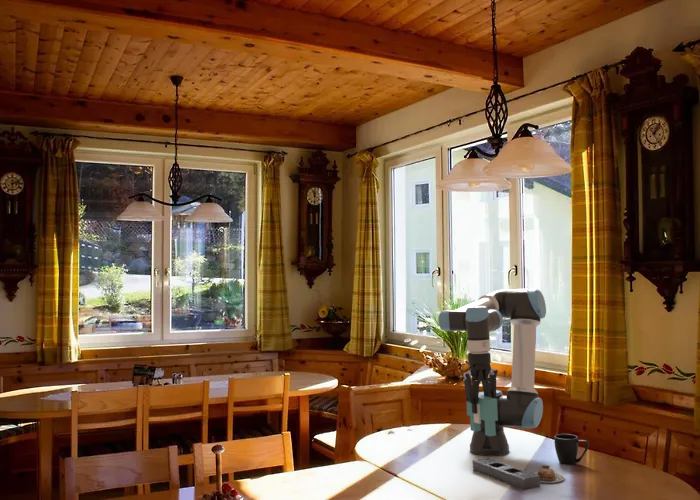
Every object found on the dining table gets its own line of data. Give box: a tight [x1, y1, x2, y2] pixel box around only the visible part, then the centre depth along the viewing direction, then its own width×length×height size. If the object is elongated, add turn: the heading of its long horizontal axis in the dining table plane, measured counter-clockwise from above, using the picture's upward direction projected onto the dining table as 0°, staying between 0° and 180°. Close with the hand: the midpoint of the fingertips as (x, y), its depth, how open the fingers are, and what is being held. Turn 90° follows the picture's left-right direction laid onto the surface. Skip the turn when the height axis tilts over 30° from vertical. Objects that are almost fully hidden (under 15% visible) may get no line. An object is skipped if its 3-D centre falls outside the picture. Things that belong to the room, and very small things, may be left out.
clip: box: [466, 395, 498, 436], centre depth 218 cm, size 12×4×12 cm, turn 26°
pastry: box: [532, 465, 565, 484], centre depth 219 cm, size 12×12×5 cm
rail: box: [472, 457, 541, 491], centre depth 221 cm, size 26×7×4 cm, turn 27°
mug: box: [553, 433, 590, 466], centre depth 235 cm, size 8×12×10 cm
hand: (482, 421), depth 218 cm, fingers closed on clip, 3 cm apart
